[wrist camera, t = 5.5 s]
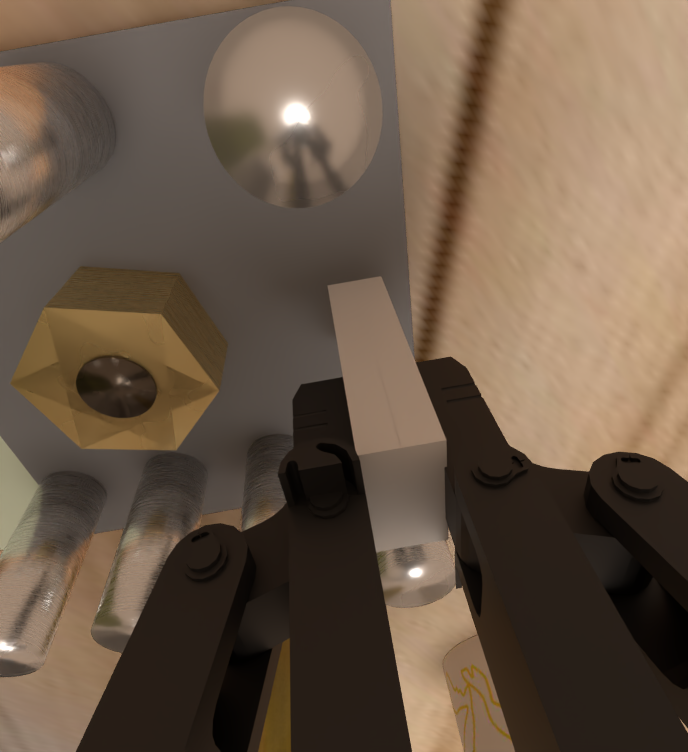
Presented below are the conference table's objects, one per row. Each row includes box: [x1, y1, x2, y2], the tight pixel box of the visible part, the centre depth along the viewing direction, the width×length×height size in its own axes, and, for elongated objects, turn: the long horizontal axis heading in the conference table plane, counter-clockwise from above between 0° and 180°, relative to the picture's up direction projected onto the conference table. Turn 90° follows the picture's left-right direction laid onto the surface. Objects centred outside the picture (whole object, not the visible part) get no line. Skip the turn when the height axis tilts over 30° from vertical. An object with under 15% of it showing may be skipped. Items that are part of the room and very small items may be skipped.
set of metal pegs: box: [0, 6, 456, 677], centre depth 12 cm, size 14×14×6 cm
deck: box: [0, 0, 415, 550], centre depth 16 cm, size 22×16×2 cm
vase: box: [258, 638, 291, 752], centre depth 22 cm, size 6×6×14 cm
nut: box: [10, 266, 228, 450], centre depth 14 cm, size 5×5×3 cm
